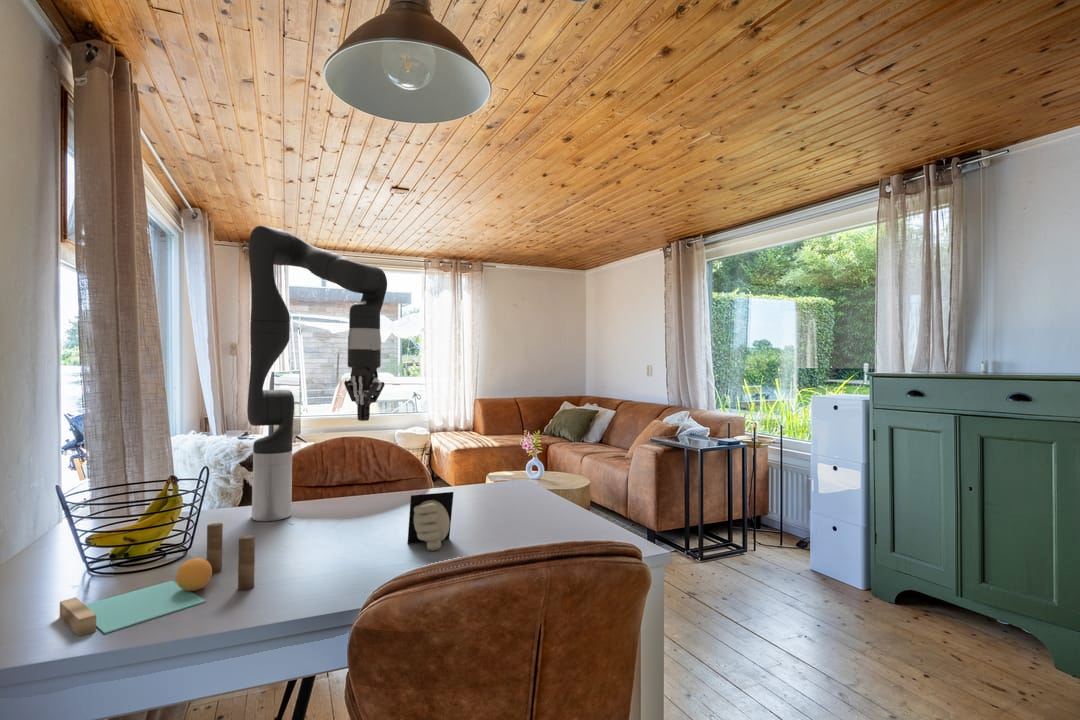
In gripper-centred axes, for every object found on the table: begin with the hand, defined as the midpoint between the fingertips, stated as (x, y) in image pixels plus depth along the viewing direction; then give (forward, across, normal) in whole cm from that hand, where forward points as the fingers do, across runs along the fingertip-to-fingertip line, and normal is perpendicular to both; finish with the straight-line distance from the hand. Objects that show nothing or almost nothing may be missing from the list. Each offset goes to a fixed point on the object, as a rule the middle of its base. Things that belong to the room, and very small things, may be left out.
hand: (363, 420), depth 132 cm
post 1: (+27, -2, -32) cm, 42 cm away
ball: (+24, +4, -38) cm, 45 cm away
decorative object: (+27, +20, +4) cm, 34 cm away
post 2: (+27, +10, -32) cm, 43 cm away
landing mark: (+27, +4, -46) cm, 53 cm away
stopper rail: (+27, +4, -54) cm, 61 cm away
